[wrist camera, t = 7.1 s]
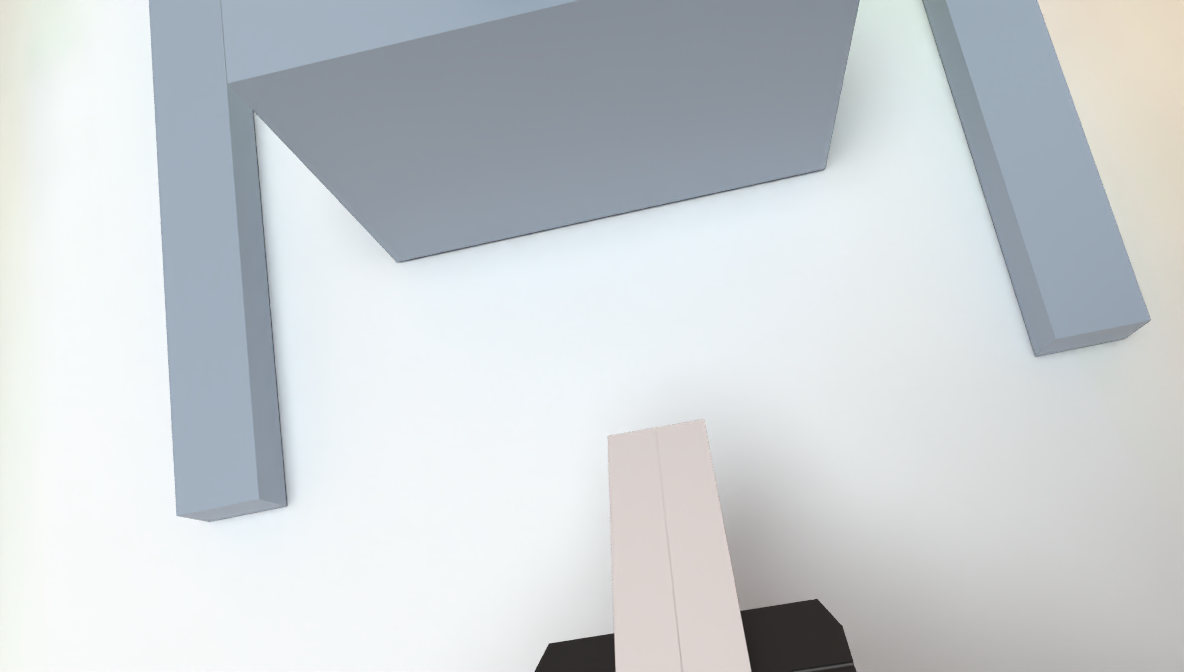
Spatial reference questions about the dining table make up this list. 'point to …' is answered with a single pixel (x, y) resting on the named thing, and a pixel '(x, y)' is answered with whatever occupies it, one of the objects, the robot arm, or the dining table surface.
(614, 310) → the dining table surface
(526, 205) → the slide jaw
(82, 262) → the dining table surface
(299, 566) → the dining table surface
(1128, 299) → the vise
